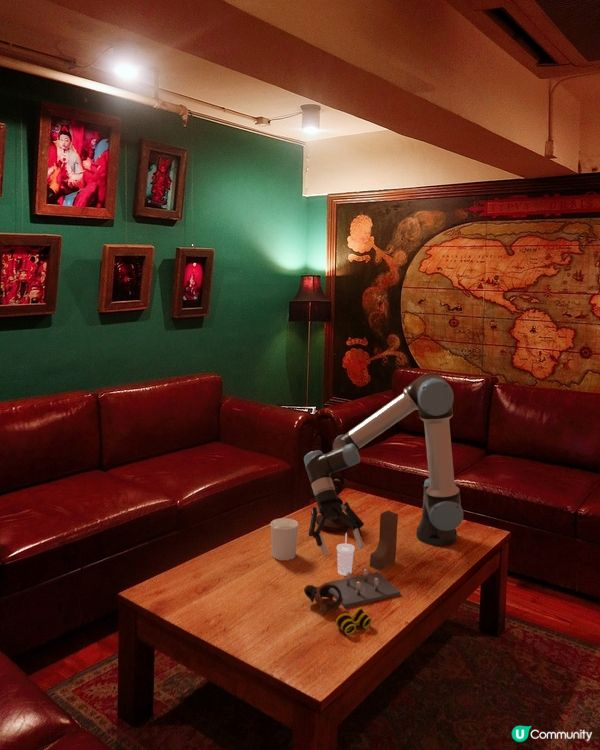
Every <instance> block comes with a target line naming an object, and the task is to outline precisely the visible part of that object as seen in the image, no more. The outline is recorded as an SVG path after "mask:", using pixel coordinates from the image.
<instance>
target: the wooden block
mask: <svg viewBox="0 0 600 750" xmlns="http://www.w3.org/2000/svg"><path fill="white" fill-rule="evenodd" d="M379 515H380V518H379V536H378V537H379V538H378V544H377V546H376V548H375V550H374V551H372V553H370V556H369V557H370V558H369V566H370V567H371V568H373V569H376V570H377V571H381V570H382V569H384V568H387V567H389V566H391V565H392V564H395V563H396V559H397V558H396V556H397V555H396V553H397V540H398V539H397V537H398V536H397V535H398V523H399V522H398V521H399V520H398V519H399V514H398V513H396V512H393V511H391V510H386V511H383V512H380V514H379Z"/></svg>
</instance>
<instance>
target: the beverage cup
mask: <svg viewBox="0 0 600 750" xmlns="http://www.w3.org/2000/svg"><path fill="white" fill-rule="evenodd" d="M344 539H345V540H344V542H343V543H339V544H337V545H336V555H337V574H339V575H340V576H345V577H346V575H347V572H350V575H351V574H352V573H353V572H352V571H353V569H352V568H353V561H354V560H353V559H354V553H355V550H356V548H355V545H353V544H351V543H347V542H348V541H347V539H348V533H347V532H346V533H345V537H344Z"/></svg>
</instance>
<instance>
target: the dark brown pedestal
mask: <svg viewBox="0 0 600 750" xmlns="http://www.w3.org/2000/svg"><path fill="white" fill-rule="evenodd" d="M331 479H332V482H333V485H334V488H335V491H336V494H337V497H338V501H339V503H340V505H342V504H344V502H343V500H342V498H340V497H339V495H340V494H341V493H342V492H343V490H344V484H345V480H344V477H343V476H342V475H340V474H333V475H332V476H331ZM341 510H342V511H343V509H342V508H341ZM339 515H341V514H339ZM345 515H347V514H346V513H345ZM347 516H348V515H347ZM348 517H349V516H348ZM321 518H322V515H321V514H319V515H317V519H316V525H317V526H318V525H319V523H320V520H321ZM349 518H350V517H349ZM350 528H351V527H350V526H349V525H347V524H346V523H345V522H344V521H342V520H341V519H338V518H336V519H329V520H328V519H326V520H325V523H324V525H323V527H322V530H321V531H323V530H324V529H325V530H330V531H345V532H346V533H347V532H348V530H349V529H350Z"/></svg>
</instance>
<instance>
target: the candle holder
mask: <svg viewBox="0 0 600 750" xmlns="http://www.w3.org/2000/svg"><path fill="white" fill-rule="evenodd" d="M298 531H299V522H298V521H297V520H295V519H293V518H288V517H287V518H286V517H284V518H282V517H280V518H276V519H272V521H271V522H270V541H271V542H270V543H271V556H272V558H273V557H274V558H273V559H275V558H276V559H275V560H277V559H278V560H277V561H281V560H287V561H291V560H294V558H296V556H297V555H296V554H297V544H298ZM290 559H291V560H290Z"/></svg>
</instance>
